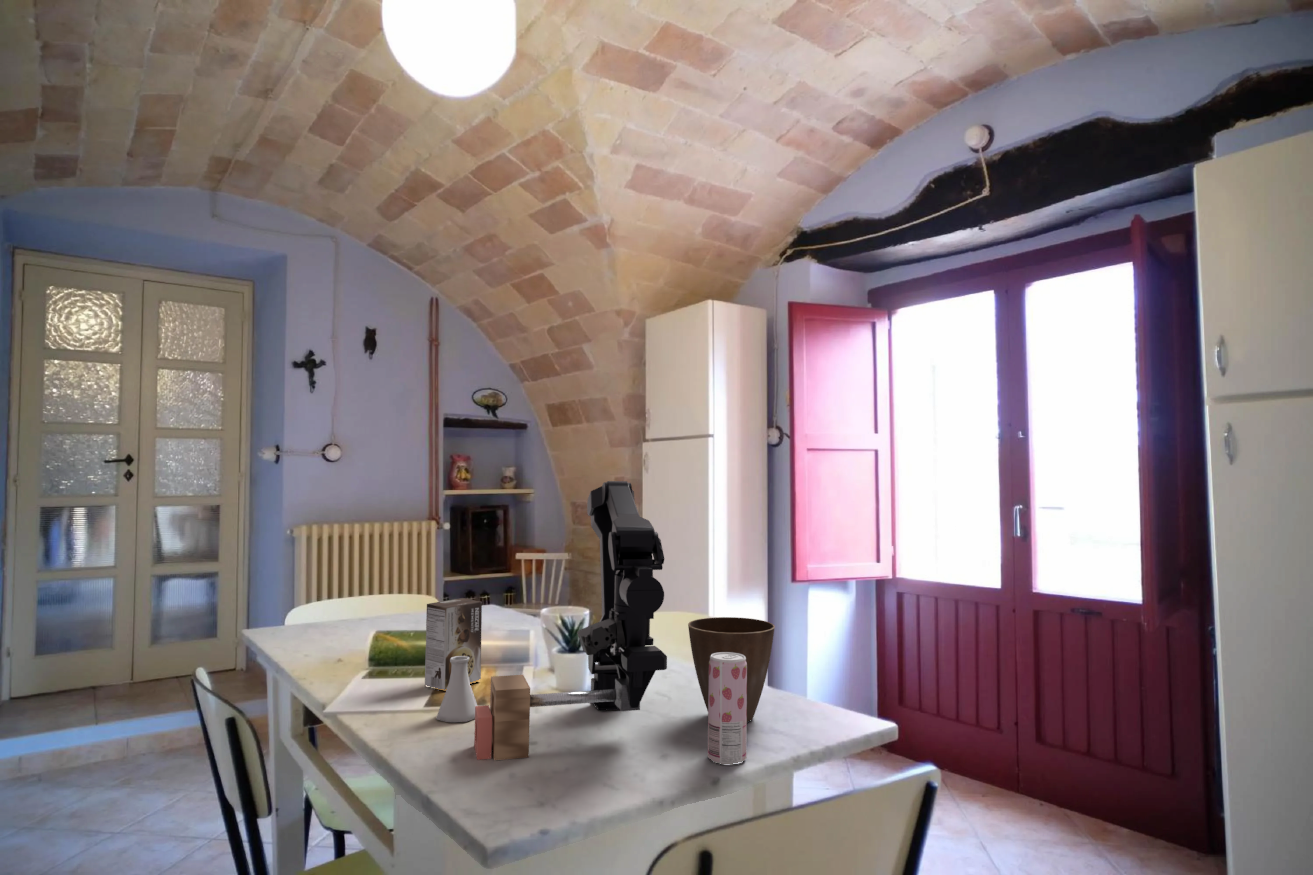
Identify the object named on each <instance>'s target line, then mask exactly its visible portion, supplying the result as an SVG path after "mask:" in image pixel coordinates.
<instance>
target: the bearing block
mask: <svg viewBox="0 0 1313 875" xmlns="http://www.w3.org/2000/svg"><path fill="white" fill-rule="evenodd" d="M489 694H490V695H489V697H490V701H489V708H490V711H491V715H492V746H491V755H492V758H493V761H504V760H514V759H524V758H529V756H530V721H531V720H530V719H531V717H530V716H531V714H530V713H531V707H530V695H531V687H530V685H529V683H528V681H527V679H526V678H525V675H524V674H513V675H512V674H510V675H497V676H490V693H489Z"/></svg>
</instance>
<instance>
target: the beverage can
mask: <svg viewBox="0 0 1313 875" xmlns="http://www.w3.org/2000/svg"><path fill="white" fill-rule="evenodd" d="M747 723H748V722H747V663H746V657H745V656H744V655H742V654H739V653H733V652H719V653H714V654H711V656H710V661H709V694H708V711H707V758H708V759H709V760H710V759H711V760H712V761H714V762H717V763H721V764H733V763H738V762H742V761H744V762H745V760H746V759H747V727H748V726H747ZM711 760H710V761H711ZM712 761H711V762H712ZM714 762H713V763H714ZM742 763H743V762H742Z"/></svg>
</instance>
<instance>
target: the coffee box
mask: <svg viewBox="0 0 1313 875" xmlns="http://www.w3.org/2000/svg"><path fill="white" fill-rule="evenodd" d="M482 605H483V602H482V601H481V600H480V601H479V600H475V599H472V598H466V597H465V598H464V597H461V598H454V599H449V600H440V601H436V602H431V603H426V619H425V620H426V622H425V623H426V625H425V626H426V627H425V628H426V630H425V631H426V632H425V661H424V664H425V667H424V668H425V669H424V686H425V685H427V686H430V687H435V688H438V689H444V690H445V689H447V687H448V684H449V680H450V675H451V667H452V664H451V662H450V658H451V657H455V656H466V657H469V661H468V663H467V670H468V677H469V681H470V682H473V681H476V680H479V679H481V678H482V677H481V676H482V670H481V669H482V623H483V622H482V613H483V612H482V611H483V610H482V608H483V607H482ZM481 680H482V679H481Z"/></svg>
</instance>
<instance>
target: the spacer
mask: <svg viewBox="0 0 1313 875" xmlns="http://www.w3.org/2000/svg"><path fill="white" fill-rule="evenodd" d="M473 743H474V745H473V746H474V751H475V756H476V757H475V758H476V760H478V761H479V760H488V759H489V760H491V759H492V751H491V746H492V715H491V711H490V704H489V705H488V704H487V705H478V706H475V719H474V742H473Z"/></svg>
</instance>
